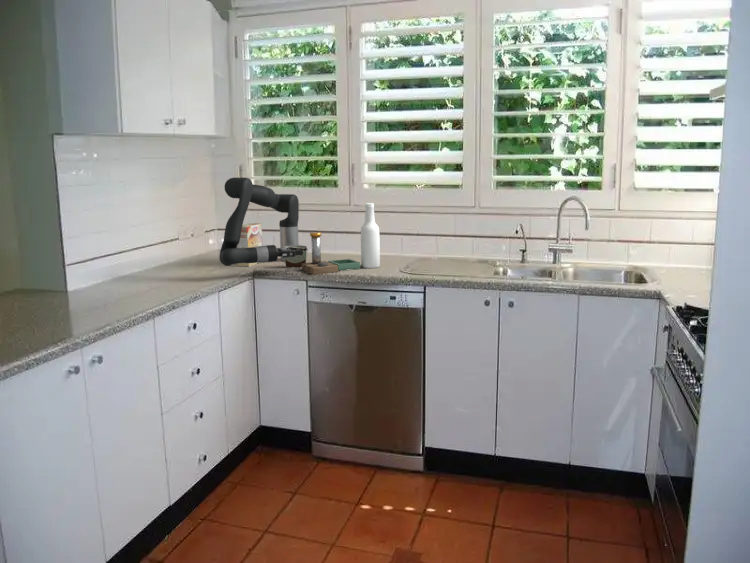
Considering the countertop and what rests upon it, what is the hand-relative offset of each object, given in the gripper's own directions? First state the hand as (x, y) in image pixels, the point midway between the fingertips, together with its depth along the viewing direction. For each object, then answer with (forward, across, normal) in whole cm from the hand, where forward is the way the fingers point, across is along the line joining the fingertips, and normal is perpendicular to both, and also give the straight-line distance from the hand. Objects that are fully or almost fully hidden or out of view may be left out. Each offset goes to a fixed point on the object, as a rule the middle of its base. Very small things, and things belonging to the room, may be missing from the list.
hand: (299, 251), depth 307 cm
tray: (+21, -2, +10) cm, 23 cm away
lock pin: (+8, 0, +10) cm, 12 cm away
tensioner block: (+8, -4, +10) cm, 13 cm away
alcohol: (+33, -6, +10) cm, 35 cm away
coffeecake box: (-14, +33, +10) cm, 37 cm away
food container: (+3, +13, +10) cm, 16 cm away
